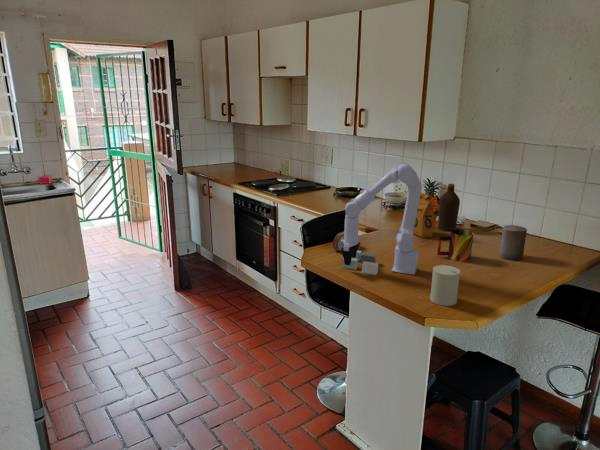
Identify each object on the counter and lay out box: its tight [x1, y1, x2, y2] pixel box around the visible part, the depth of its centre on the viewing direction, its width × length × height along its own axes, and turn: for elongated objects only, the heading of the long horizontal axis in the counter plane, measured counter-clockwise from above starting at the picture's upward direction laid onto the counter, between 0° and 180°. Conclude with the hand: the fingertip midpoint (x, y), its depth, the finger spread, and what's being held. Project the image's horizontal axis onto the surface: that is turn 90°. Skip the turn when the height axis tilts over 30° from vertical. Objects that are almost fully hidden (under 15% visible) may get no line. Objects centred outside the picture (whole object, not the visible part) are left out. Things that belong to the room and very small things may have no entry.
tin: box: [332, 230, 344, 252], centre depth 205 cm, size 15×3×8 cm, turn 141°
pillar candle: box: [499, 224, 528, 261], centre depth 195 cm, size 10×10×15 cm
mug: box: [436, 228, 474, 263], centre depth 193 cm, size 10×14×12 cm
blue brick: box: [355, 250, 363, 262], centre depth 192 cm, size 6×3×4 cm, turn 68°
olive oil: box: [437, 183, 461, 232], centre depth 235 cm, size 11×11×25 cm
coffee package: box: [413, 192, 435, 239], centre depth 225 cm, size 10×12×22 cm
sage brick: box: [341, 258, 359, 271], centre depth 183 cm, size 6×3×4 cm, turn 68°
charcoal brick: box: [360, 252, 377, 264], centre depth 188 cm, size 6×3×4 cm, turn 68°
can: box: [429, 264, 461, 307], centre depth 153 cm, size 9×9×12 cm
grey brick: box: [361, 261, 379, 276], centre depth 178 cm, size 6×3×4 cm, turn 68°
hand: (349, 261), depth 183 cm, fingers open, 7 cm apart
